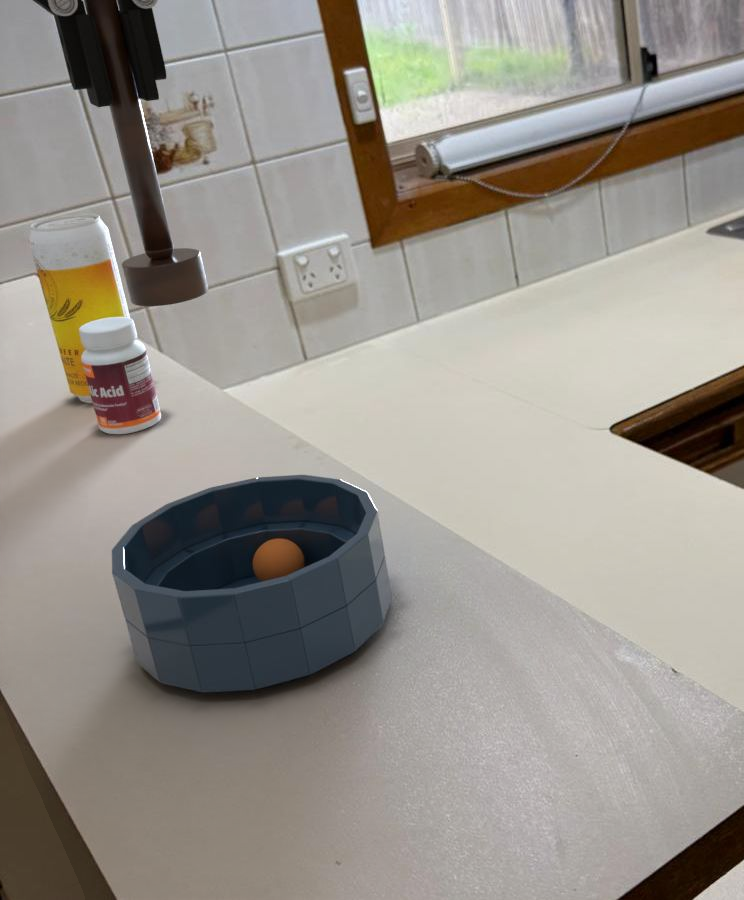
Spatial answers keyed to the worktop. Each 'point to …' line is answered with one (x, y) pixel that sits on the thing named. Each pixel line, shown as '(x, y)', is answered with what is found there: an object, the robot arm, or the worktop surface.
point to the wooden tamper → (143, 181)
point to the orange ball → (277, 559)
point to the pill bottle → (118, 376)
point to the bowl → (252, 583)
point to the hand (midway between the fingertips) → (123, 99)
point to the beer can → (76, 284)
